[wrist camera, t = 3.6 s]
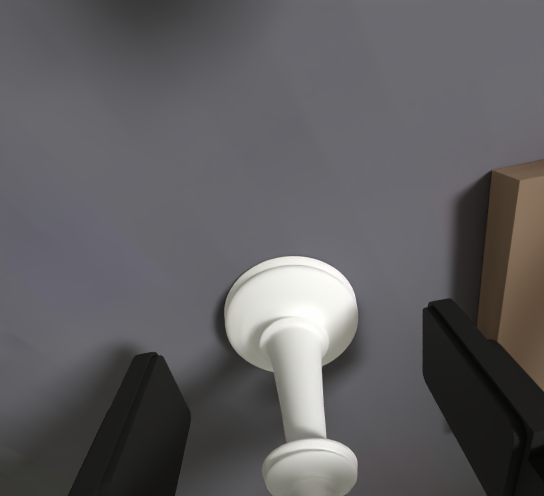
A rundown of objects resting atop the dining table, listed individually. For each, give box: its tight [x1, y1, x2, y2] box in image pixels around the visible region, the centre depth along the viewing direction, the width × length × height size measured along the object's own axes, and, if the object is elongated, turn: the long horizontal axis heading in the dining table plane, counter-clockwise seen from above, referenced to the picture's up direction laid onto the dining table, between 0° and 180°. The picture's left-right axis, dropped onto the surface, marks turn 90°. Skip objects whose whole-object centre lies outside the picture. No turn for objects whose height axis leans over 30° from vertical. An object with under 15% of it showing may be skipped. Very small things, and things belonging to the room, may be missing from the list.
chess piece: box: [224, 256, 358, 496], centre depth 8 cm, size 5×5×10 cm
